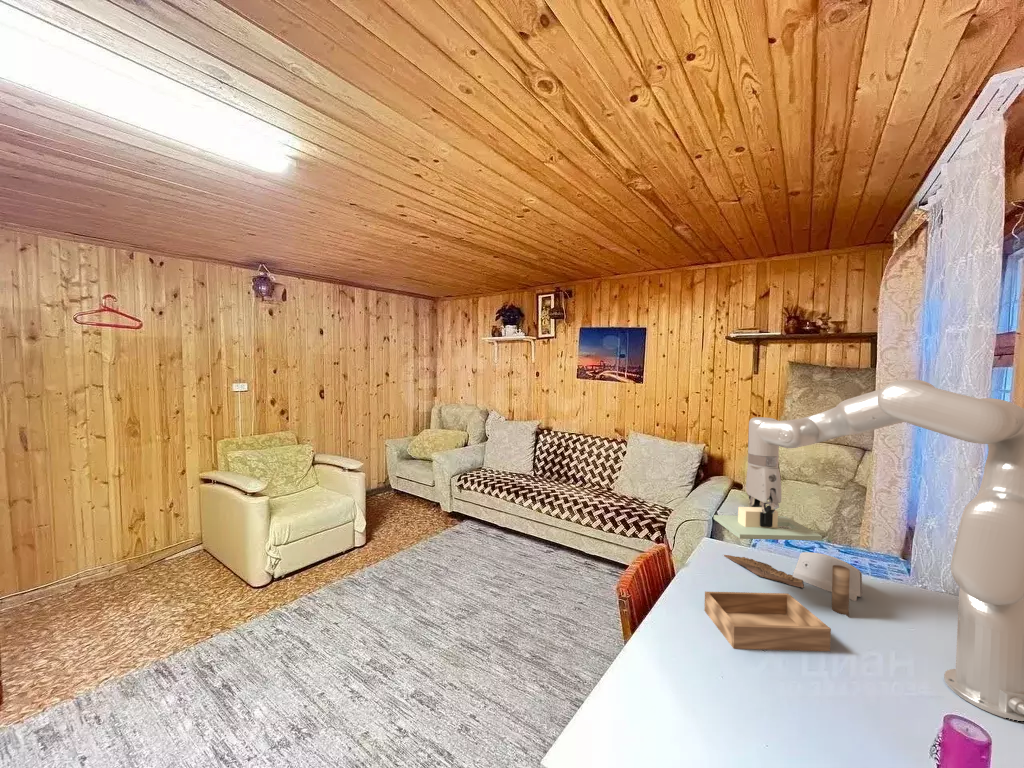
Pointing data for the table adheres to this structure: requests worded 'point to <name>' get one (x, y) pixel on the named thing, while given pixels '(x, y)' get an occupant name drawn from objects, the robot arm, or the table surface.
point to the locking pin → (840, 589)
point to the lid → (750, 527)
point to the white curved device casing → (826, 572)
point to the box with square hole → (766, 621)
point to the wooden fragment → (766, 571)
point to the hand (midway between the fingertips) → (761, 522)
